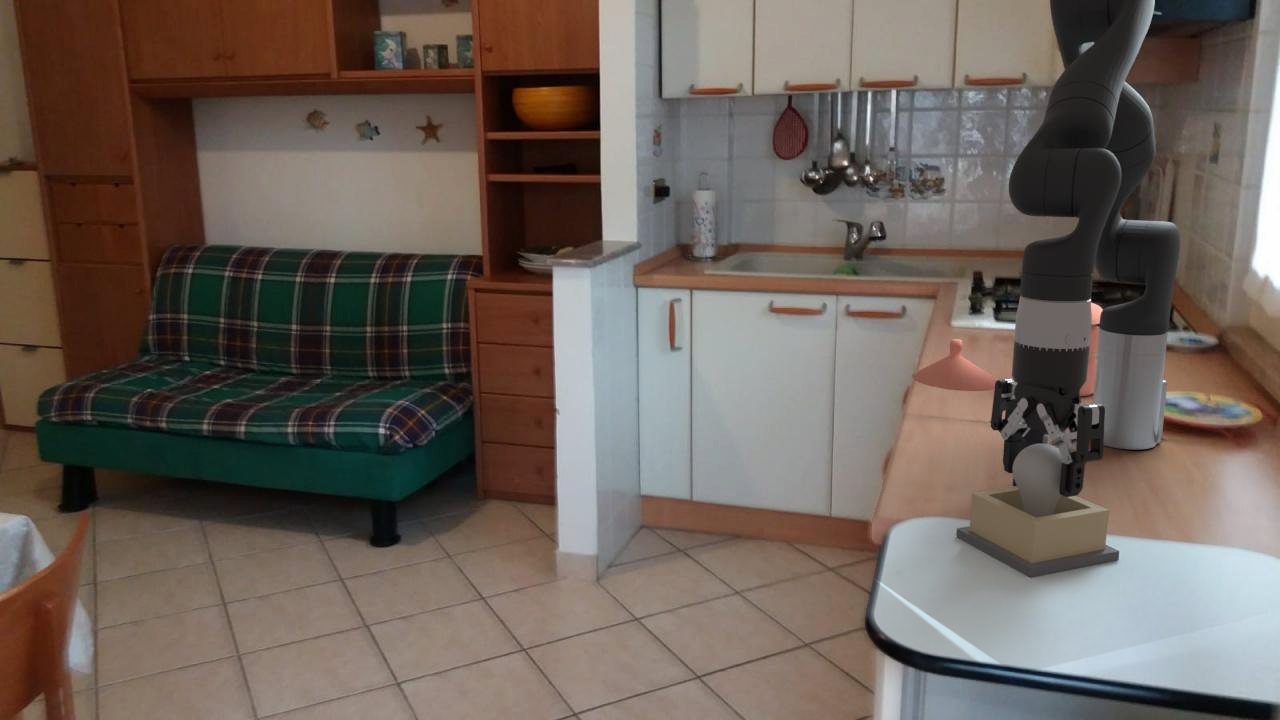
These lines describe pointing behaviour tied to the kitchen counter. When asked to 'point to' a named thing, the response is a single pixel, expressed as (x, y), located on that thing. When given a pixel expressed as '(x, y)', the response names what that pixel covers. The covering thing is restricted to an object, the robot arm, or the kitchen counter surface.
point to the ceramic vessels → (969, 377)
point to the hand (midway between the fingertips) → (1040, 483)
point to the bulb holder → (1038, 533)
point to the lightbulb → (1038, 478)
